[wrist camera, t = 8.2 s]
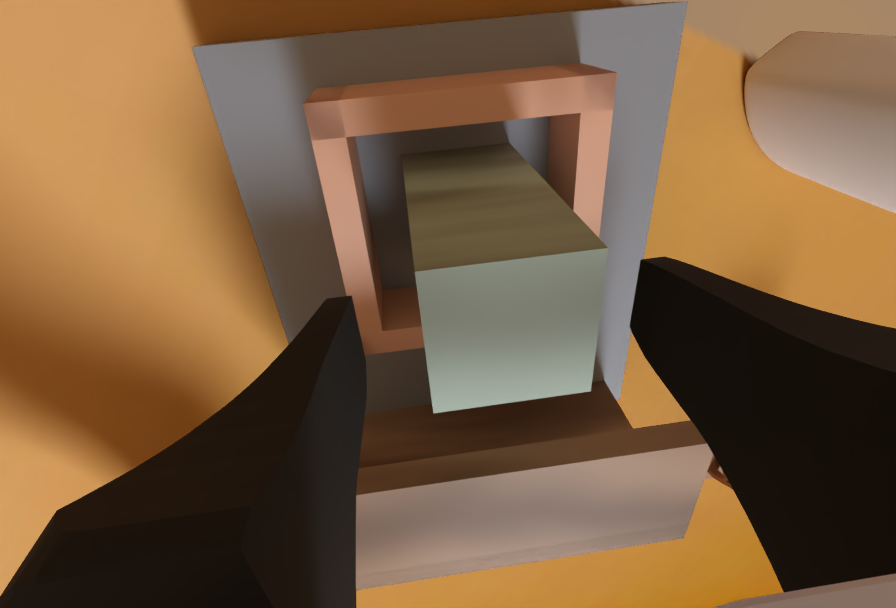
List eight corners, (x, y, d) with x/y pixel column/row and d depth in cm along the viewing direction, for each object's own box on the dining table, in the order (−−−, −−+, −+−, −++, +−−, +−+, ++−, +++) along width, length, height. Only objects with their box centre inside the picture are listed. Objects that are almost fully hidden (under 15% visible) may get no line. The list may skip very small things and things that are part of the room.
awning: (602, 394, 25) (683, 538, 18) (338, 431, 24) (320, 596, 17) (614, 308, 22) (717, 441, 15) (313, 347, 21) (279, 506, 14)
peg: (510, 241, 19) (590, 391, 12) (414, 253, 19) (433, 413, 11) (509, 142, 17) (608, 248, 10) (401, 154, 17) (414, 272, 9)
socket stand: (608, 380, 26) (645, 442, 23) (324, 419, 25) (313, 491, 22) (664, 2, 17) (747, -1, 13) (207, 44, 16) (150, 54, 12)
